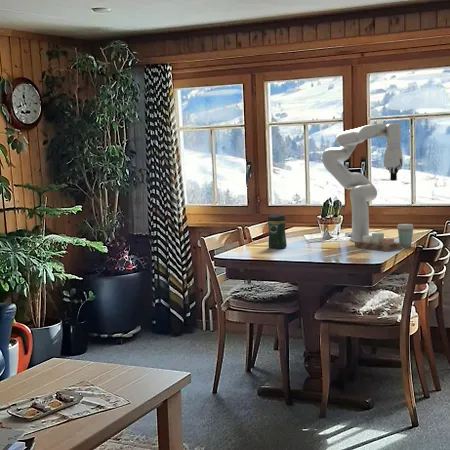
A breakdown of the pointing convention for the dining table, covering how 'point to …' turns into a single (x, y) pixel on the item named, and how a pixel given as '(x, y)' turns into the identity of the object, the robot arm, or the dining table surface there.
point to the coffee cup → (405, 234)
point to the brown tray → (378, 246)
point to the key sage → (377, 237)
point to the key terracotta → (388, 241)
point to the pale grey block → (367, 238)
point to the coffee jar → (277, 231)
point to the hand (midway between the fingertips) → (393, 180)
